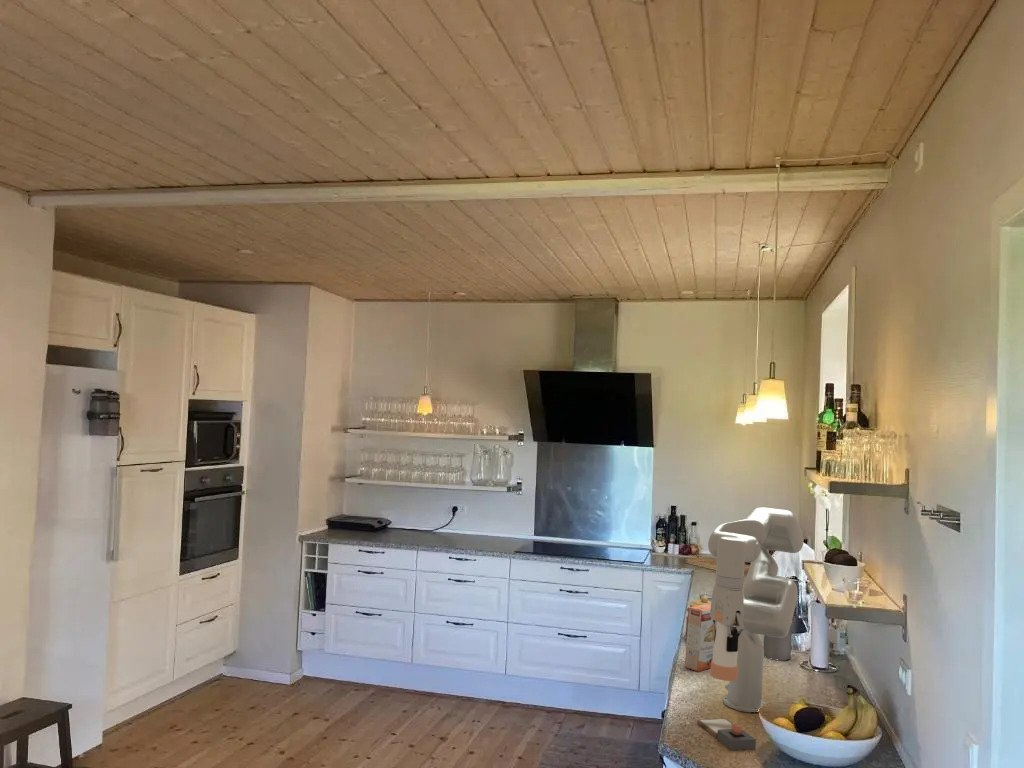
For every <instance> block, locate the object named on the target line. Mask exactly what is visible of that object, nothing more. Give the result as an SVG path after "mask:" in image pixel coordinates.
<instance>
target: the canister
mask: <svg viewBox="0 0 1024 768" xmlns="http://www.w3.org/2000/svg"><path fill="white" fill-rule="evenodd" d="M710 603H711V600H709V599H708V597H707V596H705V595H703V596H701V598H700V599H693V600H692V601H690V602H689V603H688V604H689V607H693V606H699V605H705V604H710ZM689 607H687V608H686V611H687V616H686V618H685V619H686V622H685V633H684V637H685V638H684V639H685V641H686V642H687V630H688V616H689Z"/></svg>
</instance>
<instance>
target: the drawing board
mask: <svg viewBox="0 0 1024 768" xmlns="http://www.w3.org/2000/svg"><path fill="white" fill-rule="evenodd" d="M697 723H698V724H697ZM696 724H697V725H698V726H699V727H701V728H702V729H704V730H705V731H706V732H707V733H709V734H710V735H712V737H713V738H715V739H717V735H718V730H720V729H732V724H734V723H733V722H731V721H730V720H728V719H727V718H724V717H723V718H722V717H721V718H706V719H704V718H703V719H697V721H696Z"/></svg>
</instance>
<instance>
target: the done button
mask: <svg viewBox="0 0 1024 768" xmlns="http://www.w3.org/2000/svg"><path fill="white" fill-rule="evenodd" d="M742 730H743V725H742V724H739V723H733V724H732V734H734V735H742Z"/></svg>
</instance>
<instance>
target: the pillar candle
mask: <svg viewBox="0 0 1024 768" xmlns="http://www.w3.org/2000/svg"><path fill="white" fill-rule="evenodd" d="M792 633H793V621H792V622H791V626H790V630H789V632H788V634H787V635H786V636H785V637H783V638H777V637H772V636H767V635H763V647H764V655H765V656H766V657H765V656H764V657H765V658H767V657H768V658H767V659H769V658H772V659H771V660H773V659H778V660H782V661H783V660H787V659H790V660H791V657H792V656H791V654H792V635H793V634H792ZM778 660H777V661H778Z"/></svg>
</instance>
